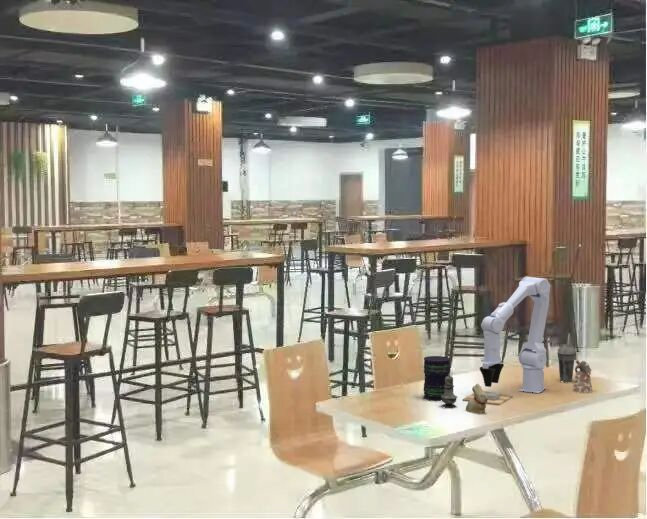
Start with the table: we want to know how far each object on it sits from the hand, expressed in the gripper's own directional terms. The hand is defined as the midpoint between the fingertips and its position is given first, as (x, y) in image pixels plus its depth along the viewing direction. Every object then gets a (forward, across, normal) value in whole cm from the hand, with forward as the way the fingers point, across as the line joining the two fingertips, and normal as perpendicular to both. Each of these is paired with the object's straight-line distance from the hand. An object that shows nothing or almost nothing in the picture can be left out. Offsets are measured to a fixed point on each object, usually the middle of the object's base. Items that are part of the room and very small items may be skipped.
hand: (491, 384), depth 310 cm
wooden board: (+5, +4, 0) cm, 6 cm away
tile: (+3, +2, 0) cm, 4 cm away
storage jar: (+5, +12, -17) cm, 21 cm away
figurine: (+5, -27, +27) cm, 38 cm away
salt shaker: (+5, +22, -8) cm, 24 cm away
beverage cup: (+5, -41, +17) cm, 45 cm away
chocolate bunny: (+5, +24, +3) cm, 25 cm away
